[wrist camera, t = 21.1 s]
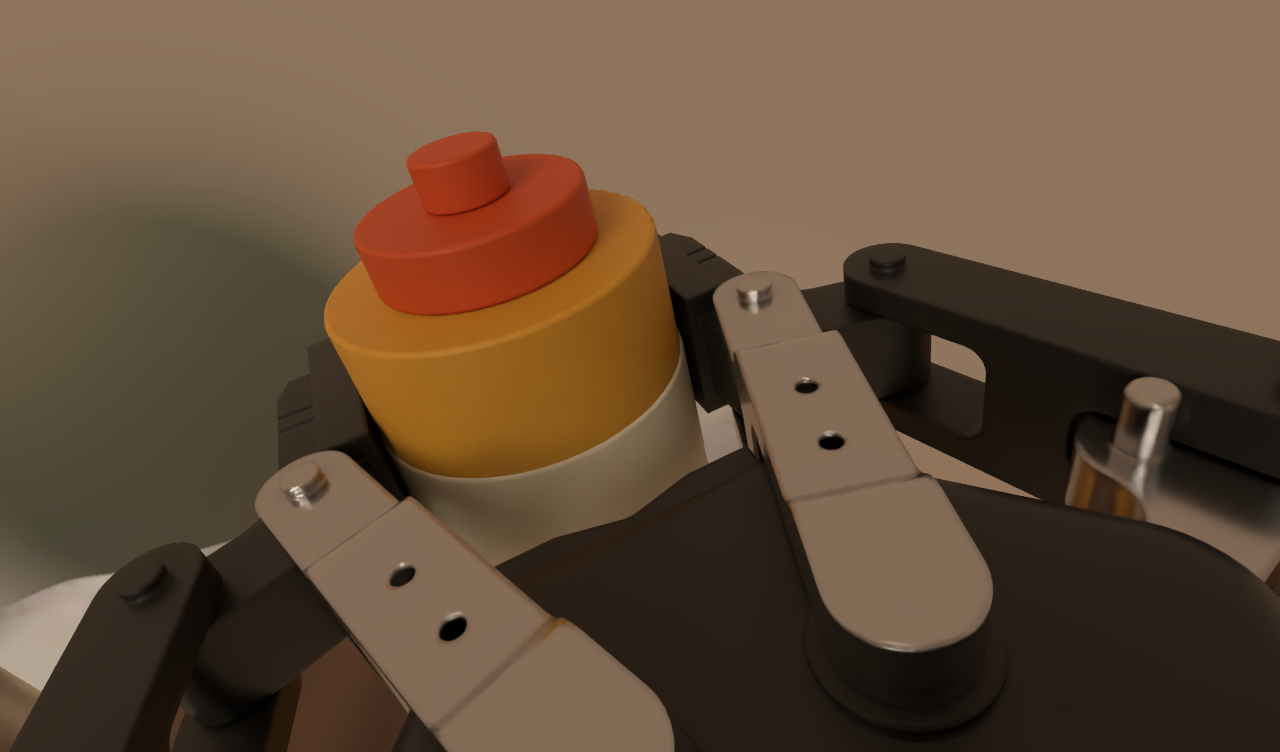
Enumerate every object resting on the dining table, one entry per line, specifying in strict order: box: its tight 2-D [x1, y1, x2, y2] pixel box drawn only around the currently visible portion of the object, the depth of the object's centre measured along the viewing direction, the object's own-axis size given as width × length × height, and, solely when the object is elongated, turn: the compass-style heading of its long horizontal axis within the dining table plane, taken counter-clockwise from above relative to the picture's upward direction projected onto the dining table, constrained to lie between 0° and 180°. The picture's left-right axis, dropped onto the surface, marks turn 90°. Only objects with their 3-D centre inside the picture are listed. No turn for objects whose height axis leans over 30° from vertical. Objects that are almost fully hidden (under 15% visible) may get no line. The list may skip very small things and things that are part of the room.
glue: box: [324, 132, 708, 567], centre depth 12 cm, size 5×5×10 cm
